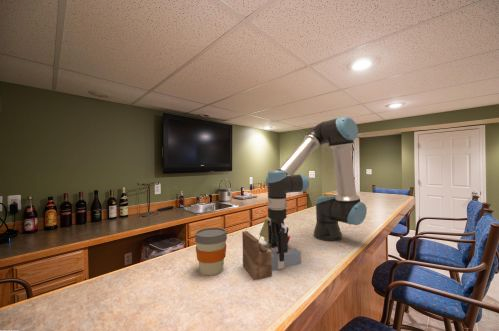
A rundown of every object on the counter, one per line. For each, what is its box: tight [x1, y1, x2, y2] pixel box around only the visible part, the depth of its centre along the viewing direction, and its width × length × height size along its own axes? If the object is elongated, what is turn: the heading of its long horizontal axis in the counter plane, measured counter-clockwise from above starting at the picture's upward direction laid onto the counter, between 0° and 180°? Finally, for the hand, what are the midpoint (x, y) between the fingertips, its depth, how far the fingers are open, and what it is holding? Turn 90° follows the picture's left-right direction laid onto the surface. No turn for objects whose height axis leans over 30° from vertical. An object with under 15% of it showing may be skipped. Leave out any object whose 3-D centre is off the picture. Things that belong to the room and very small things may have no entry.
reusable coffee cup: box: [194, 227, 228, 277], centre depth 83 cm, size 13×13×15 cm
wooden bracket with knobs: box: [241, 230, 273, 281], centre depth 82 cm, size 7×12×14 cm, turn 22°
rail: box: [271, 247, 302, 271], centre depth 85 cm, size 20×4×5 cm, turn 112°
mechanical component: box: [258, 216, 291, 246], centre depth 106 cm, size 8×17×20 cm, turn 79°
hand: (277, 265), depth 85 cm, fingers open, 4 cm apart
